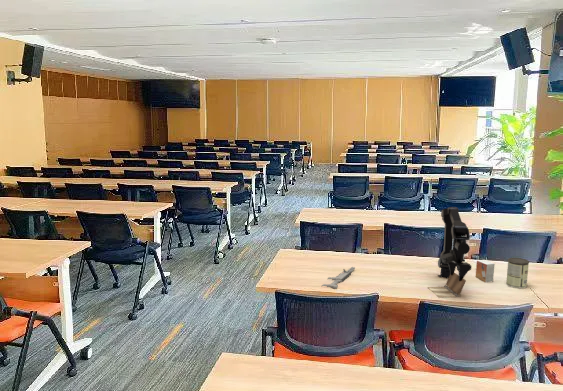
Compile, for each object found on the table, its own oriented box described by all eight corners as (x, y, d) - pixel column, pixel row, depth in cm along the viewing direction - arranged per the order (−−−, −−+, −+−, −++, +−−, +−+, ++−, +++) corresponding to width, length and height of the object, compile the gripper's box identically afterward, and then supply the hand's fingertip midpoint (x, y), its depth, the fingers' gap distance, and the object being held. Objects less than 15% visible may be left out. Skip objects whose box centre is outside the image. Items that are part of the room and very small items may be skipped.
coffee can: (507, 280, 273) (509, 256, 271) (527, 284, 268) (529, 259, 266) (504, 286, 265) (506, 261, 262) (525, 289, 259) (528, 264, 257)
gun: (342, 263, 295) (358, 264, 290) (342, 269, 295) (358, 270, 291) (318, 282, 263) (335, 283, 259) (319, 288, 264) (336, 290, 259)
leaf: (446, 289, 261) (443, 288, 260) (453, 271, 259) (450, 270, 259) (458, 298, 247) (455, 297, 247) (466, 280, 246) (463, 279, 245)
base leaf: (427, 289, 259) (427, 286, 259) (447, 288, 261) (447, 285, 260) (438, 299, 246) (439, 295, 245) (459, 298, 247) (459, 295, 247)
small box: (475, 278, 277) (476, 260, 276) (482, 277, 279) (484, 259, 277) (485, 282, 270) (486, 264, 268) (493, 281, 272) (494, 263, 270)
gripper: (435, 244, 258) (433, 272, 261) (451, 254, 240) (449, 284, 242) (455, 244, 259) (453, 272, 262) (473, 253, 241) (470, 284, 244)
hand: (455, 278), depth 253 cm, fingers open, 9 cm apart
